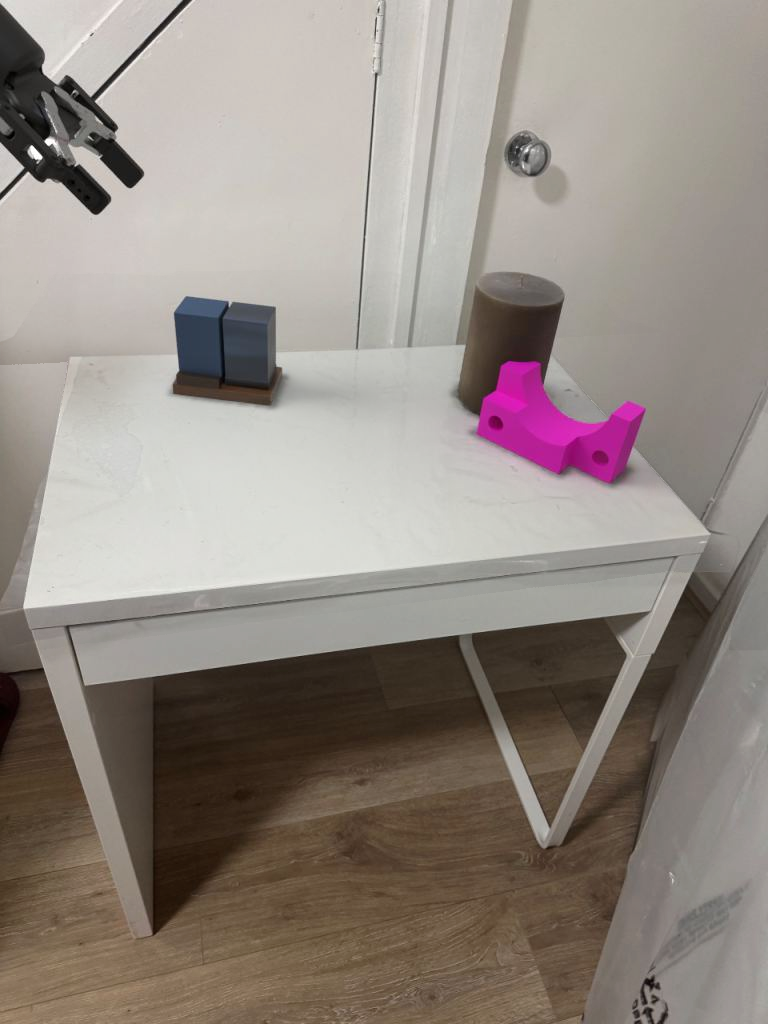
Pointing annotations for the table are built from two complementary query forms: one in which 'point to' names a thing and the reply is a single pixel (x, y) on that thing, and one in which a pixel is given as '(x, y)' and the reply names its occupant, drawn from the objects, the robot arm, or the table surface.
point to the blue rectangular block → (201, 336)
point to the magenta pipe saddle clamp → (555, 426)
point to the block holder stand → (241, 359)
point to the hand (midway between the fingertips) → (122, 194)
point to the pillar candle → (507, 330)
